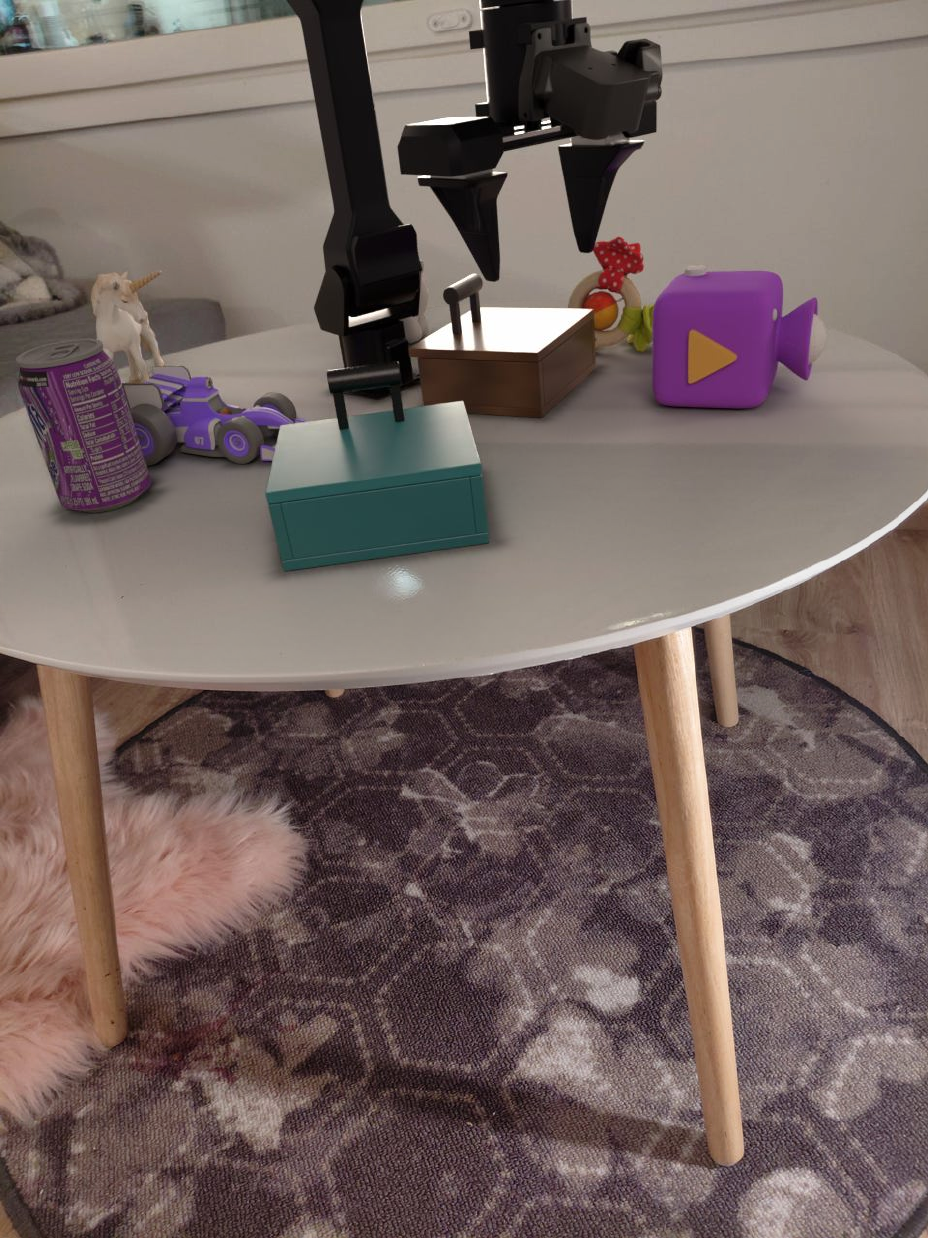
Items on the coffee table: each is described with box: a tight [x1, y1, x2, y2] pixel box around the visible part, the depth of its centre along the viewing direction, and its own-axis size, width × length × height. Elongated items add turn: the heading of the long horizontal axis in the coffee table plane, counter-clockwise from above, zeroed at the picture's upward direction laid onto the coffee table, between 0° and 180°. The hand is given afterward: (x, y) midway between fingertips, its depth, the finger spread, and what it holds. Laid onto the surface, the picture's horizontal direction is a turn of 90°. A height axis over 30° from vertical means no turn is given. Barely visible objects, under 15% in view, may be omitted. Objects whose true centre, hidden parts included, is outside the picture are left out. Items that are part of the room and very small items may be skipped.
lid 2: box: [408, 273, 594, 362], centre depth 84 cm, size 12×14×5 cm
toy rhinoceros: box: [400, 260, 430, 344], centre depth 106 cm, size 7×12×8 cm, turn 162°
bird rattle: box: [567, 236, 655, 353], centre depth 92 cm, size 6×11×9 cm
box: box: [417, 318, 597, 419], centre depth 87 cm, size 12×14×5 cm
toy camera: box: [651, 264, 827, 409], centre depth 78 cm, size 11×14×10 cm
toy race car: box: [121, 365, 310, 467], centre depth 81 cm, size 10×15×6 cm, turn 72°
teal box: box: [267, 474, 490, 572], centre depth 65 cm, size 12×14×5 cm
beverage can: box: [15, 338, 152, 514], centre depth 72 cm, size 7×7×12 cm
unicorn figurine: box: [90, 269, 165, 383], centre depth 95 cm, size 7×20×13 cm, turn 26°
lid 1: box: [264, 361, 483, 505], centre depth 63 cm, size 12×14×5 cm
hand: (540, 266), depth 67 cm, fingers open, 9 cm apart
